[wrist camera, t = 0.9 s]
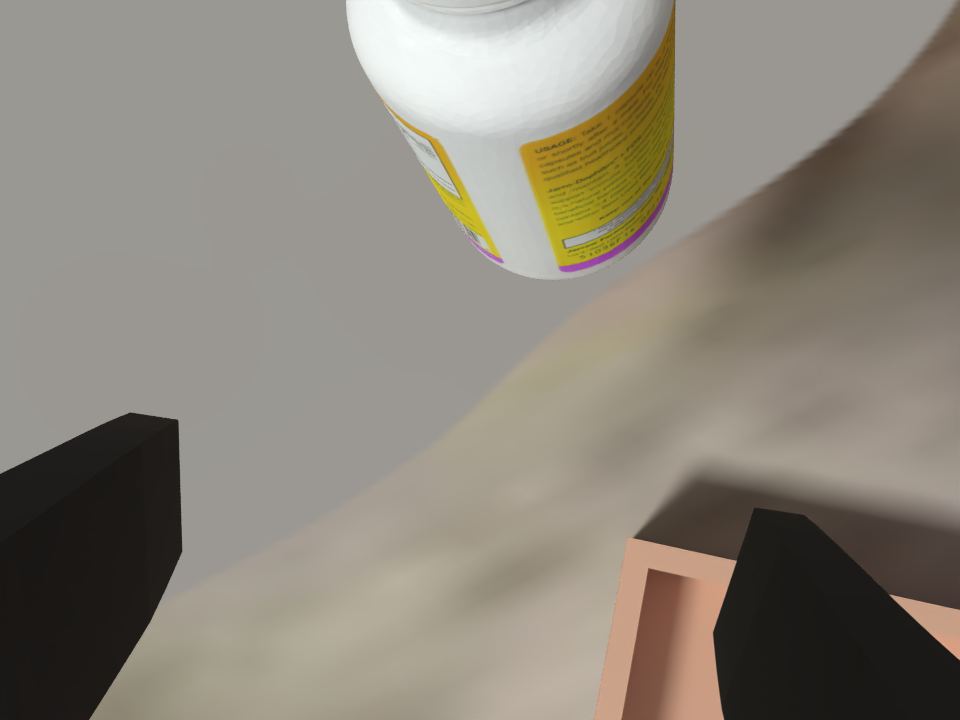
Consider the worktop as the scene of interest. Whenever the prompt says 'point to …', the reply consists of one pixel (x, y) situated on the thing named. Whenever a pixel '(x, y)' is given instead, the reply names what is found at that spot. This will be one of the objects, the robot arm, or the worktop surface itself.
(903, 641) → the robot arm
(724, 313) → the worktop surface
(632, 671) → the peach open box
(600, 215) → the supplement bottle
